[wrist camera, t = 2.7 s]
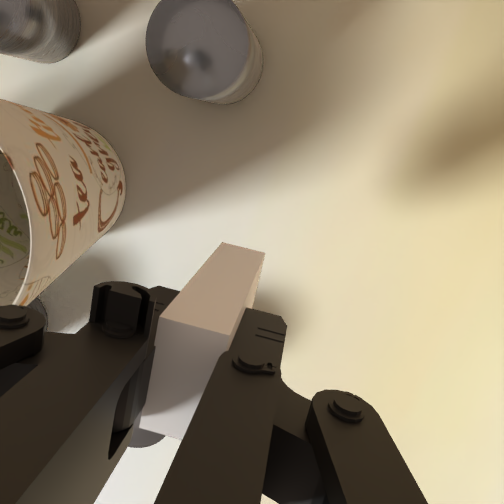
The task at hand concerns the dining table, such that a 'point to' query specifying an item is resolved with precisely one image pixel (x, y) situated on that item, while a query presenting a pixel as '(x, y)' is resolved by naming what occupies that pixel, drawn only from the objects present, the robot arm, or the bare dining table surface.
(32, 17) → the spacer field
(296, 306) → the dining table surface
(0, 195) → the mug
